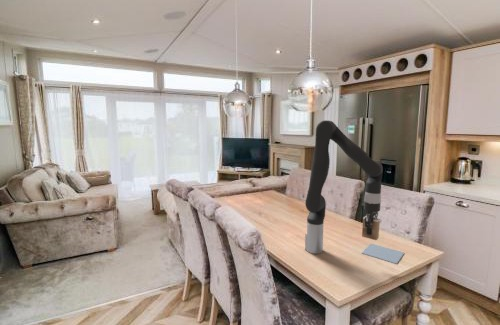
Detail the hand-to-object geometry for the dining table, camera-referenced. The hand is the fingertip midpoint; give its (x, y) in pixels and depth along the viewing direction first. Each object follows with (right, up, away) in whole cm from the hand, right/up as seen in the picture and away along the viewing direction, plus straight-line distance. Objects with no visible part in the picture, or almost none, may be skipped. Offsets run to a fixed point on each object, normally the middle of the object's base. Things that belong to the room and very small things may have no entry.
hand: (370, 233), depth 136 cm
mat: (+13, -15, +14) cm, 25 cm away
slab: (0, -2, 0) cm, 2 cm away
